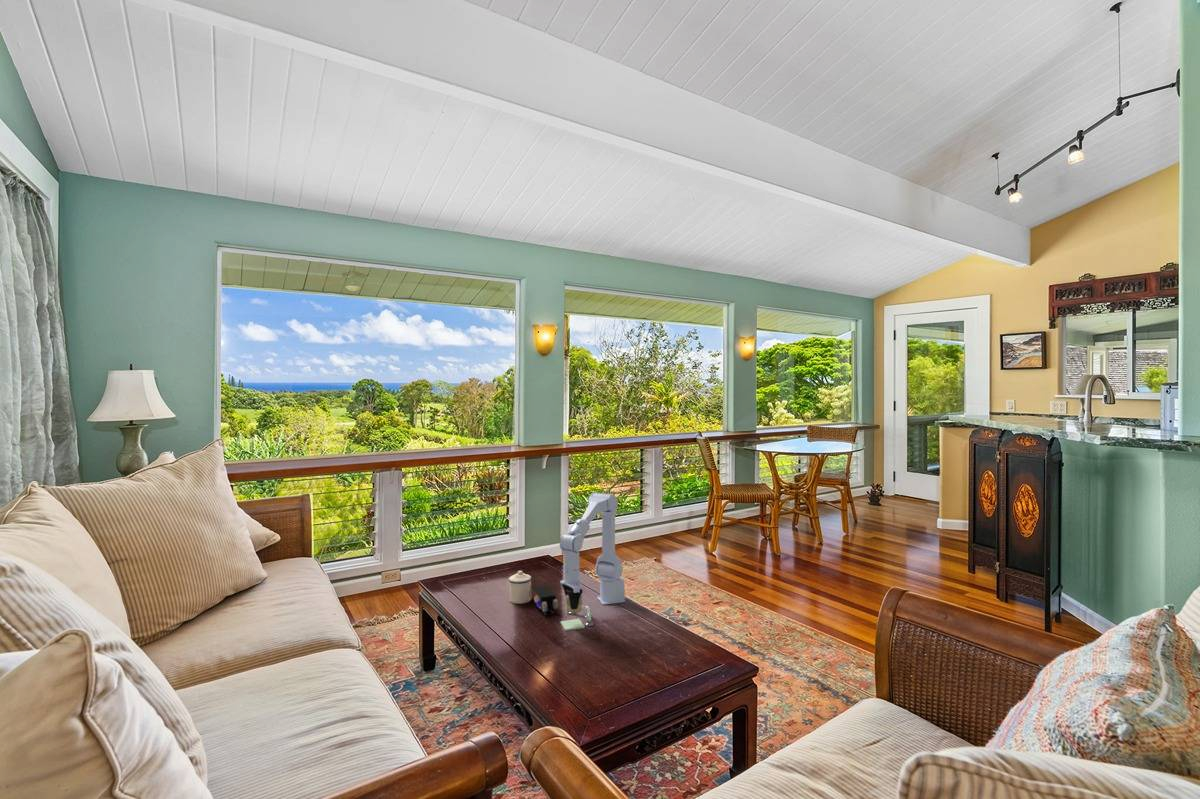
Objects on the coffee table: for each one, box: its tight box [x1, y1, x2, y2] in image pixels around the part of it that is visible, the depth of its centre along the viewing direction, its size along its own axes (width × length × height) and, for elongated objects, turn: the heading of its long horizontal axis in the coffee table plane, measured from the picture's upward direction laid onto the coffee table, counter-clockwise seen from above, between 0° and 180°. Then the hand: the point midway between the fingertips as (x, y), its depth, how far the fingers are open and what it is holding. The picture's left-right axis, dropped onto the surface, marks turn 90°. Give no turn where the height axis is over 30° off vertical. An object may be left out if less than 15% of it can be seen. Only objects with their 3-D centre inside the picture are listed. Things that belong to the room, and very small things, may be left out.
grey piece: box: [566, 604, 595, 627], centre depth 204 cm, size 8×15×4 cm, turn 17°
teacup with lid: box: [508, 570, 532, 605], centre depth 224 cm, size 12×9×12 cm
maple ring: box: [565, 594, 583, 614], centre depth 198 cm, size 6×6×5 cm
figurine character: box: [531, 584, 559, 616], centre depth 213 cm, size 7×8×15 cm
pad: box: [560, 618, 585, 632], centre depth 198 cm, size 7×7×1 cm
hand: (572, 605), depth 197 cm, fingers closed on maple ring, 5 cm apart
